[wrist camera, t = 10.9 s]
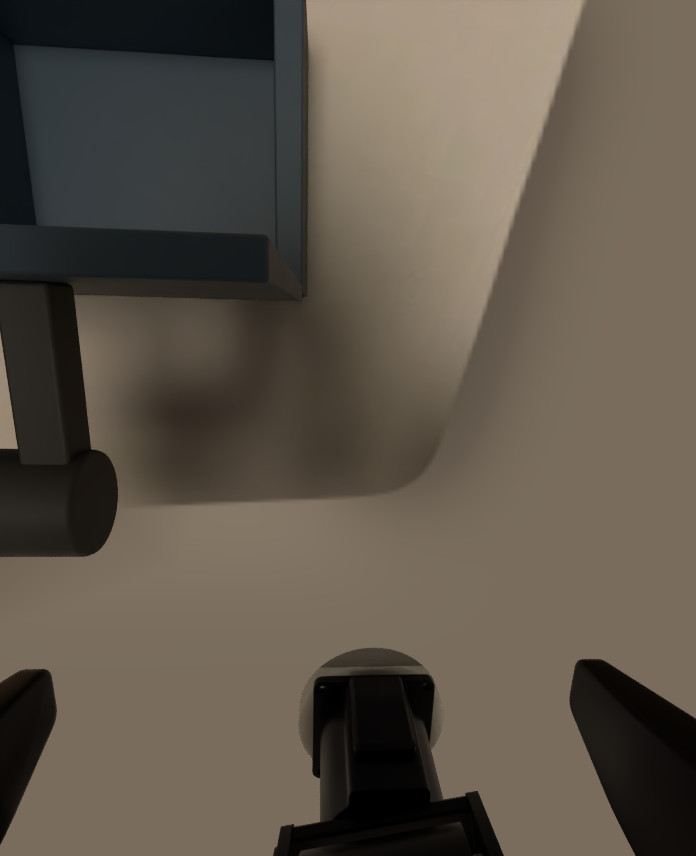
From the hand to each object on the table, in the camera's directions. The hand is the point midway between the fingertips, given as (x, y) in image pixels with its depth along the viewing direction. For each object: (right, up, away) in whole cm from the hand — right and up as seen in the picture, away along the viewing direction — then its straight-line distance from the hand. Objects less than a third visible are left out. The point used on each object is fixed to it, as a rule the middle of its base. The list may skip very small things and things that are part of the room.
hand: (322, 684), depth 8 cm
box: (-6, +14, +9) cm, 18 cm away
